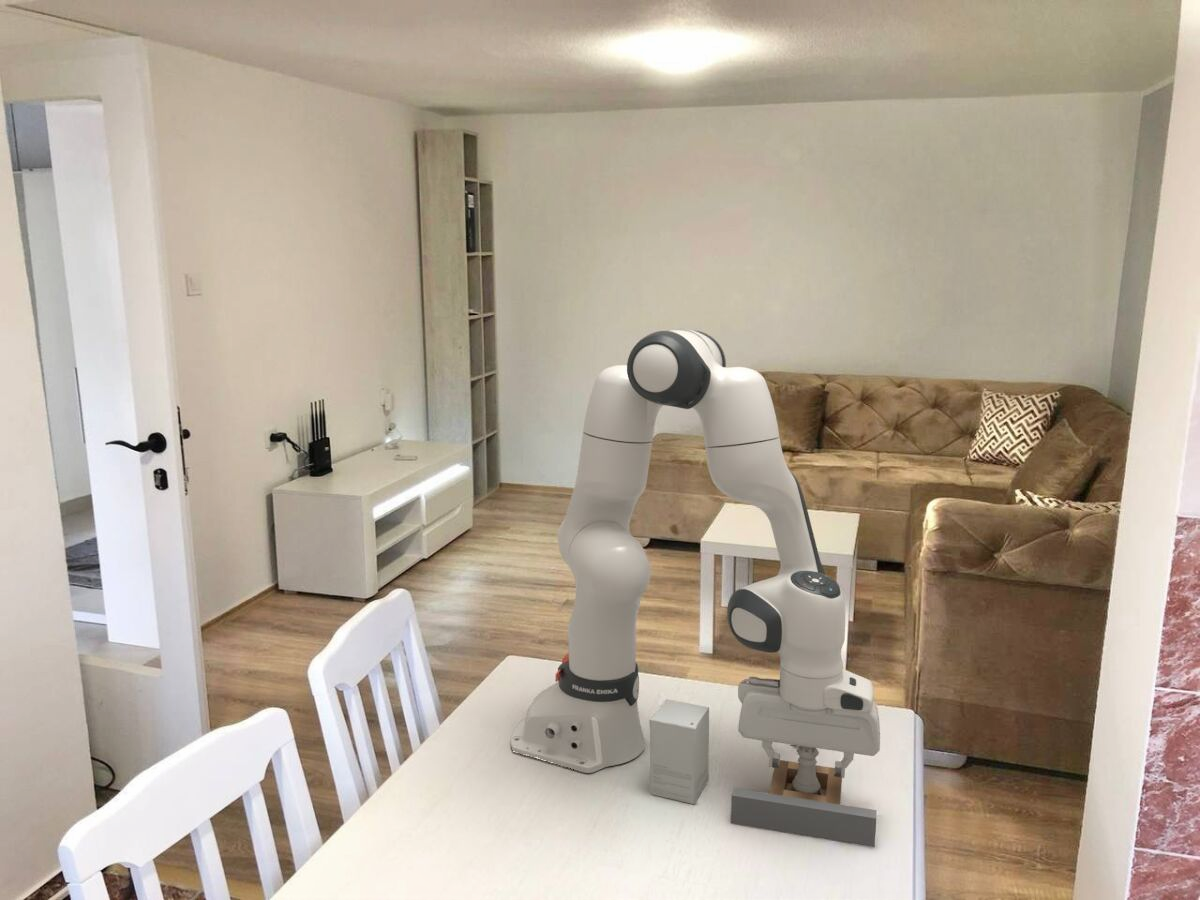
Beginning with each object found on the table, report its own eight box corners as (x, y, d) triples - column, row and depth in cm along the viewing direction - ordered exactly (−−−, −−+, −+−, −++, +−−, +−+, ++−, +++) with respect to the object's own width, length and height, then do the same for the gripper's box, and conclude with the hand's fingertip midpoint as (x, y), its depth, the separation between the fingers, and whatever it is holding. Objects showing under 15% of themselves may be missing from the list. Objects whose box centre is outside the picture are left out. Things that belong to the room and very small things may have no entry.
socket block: (767, 816, 136) (768, 794, 135) (775, 779, 145) (775, 759, 144) (838, 828, 133) (839, 806, 132) (841, 789, 142) (842, 769, 141)
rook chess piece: (822, 803, 137) (824, 754, 135) (791, 801, 137) (793, 752, 136) (819, 787, 141) (821, 738, 139) (789, 785, 142) (791, 737, 140)
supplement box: (709, 780, 145) (711, 706, 143) (694, 806, 139) (695, 728, 136) (665, 770, 148) (666, 697, 146) (648, 794, 142) (648, 718, 139)
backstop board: (730, 823, 134) (731, 795, 134) (732, 815, 136) (733, 787, 135) (874, 847, 129) (876, 818, 128) (874, 838, 131) (876, 810, 130)
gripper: (735, 684, 134) (733, 771, 137) (883, 703, 128) (877, 793, 131) (741, 666, 140) (739, 749, 143) (883, 683, 134) (877, 769, 137)
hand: (806, 770), depth 137 cm, fingers open, 8 cm apart
